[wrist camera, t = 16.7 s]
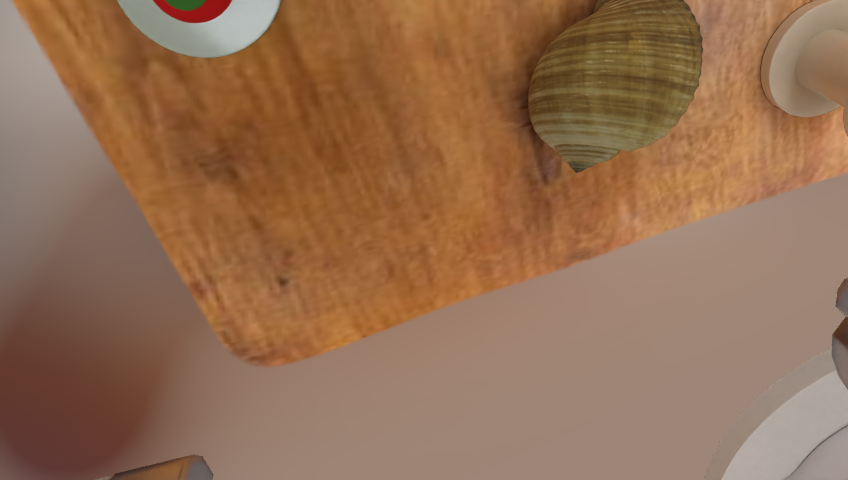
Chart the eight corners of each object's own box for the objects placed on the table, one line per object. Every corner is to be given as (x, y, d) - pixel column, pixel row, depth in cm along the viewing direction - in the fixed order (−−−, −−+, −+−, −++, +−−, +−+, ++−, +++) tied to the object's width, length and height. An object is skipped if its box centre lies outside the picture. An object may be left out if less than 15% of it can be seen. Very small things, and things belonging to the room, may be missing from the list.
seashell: (594, -32, 35) (550, -72, 28) (736, -9, 32) (727, -47, 25) (544, 151, 38) (492, 156, 31) (672, 186, 35) (647, 201, 28)
